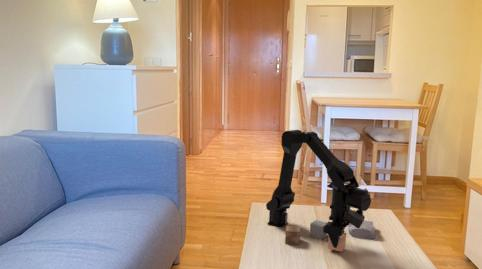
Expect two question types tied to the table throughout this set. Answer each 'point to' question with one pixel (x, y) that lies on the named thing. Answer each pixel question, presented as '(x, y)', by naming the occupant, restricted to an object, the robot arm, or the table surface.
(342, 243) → the terracotta cube
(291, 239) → the walnut cube
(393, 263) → the table surface
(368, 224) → the stone block
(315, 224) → the slate grey cube
